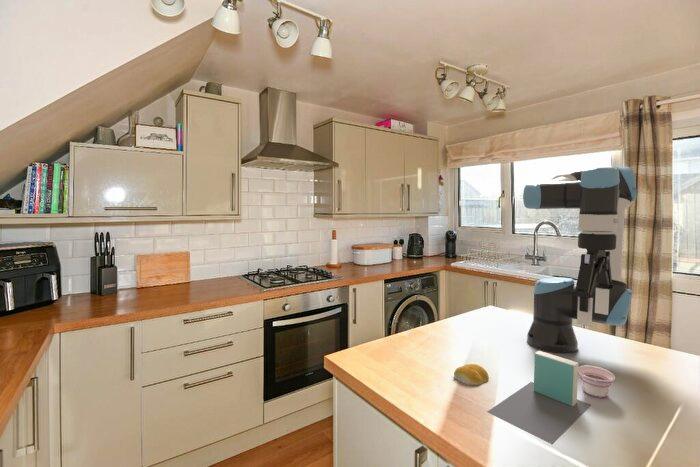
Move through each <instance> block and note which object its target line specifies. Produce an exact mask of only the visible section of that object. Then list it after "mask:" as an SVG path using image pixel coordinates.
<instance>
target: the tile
mask: <svg viewBox="0 0 700 467" xmlns="http://www.w3.org/2000/svg"><path fill="white" fill-rule="evenodd" d="M533 365H534V369H533V383H534V391H536V392H538V393H541V394H543V395H546V396H548V397H551V398H553V399H556V400H558V401H561V402H563V403H566V404H568V405H571V406H574V405H575V404H576V403H577V399H578V385H579V384H578V383H579V382H578V381H579V373H578V367H579V362H577V361H575V360H571V359H568V358H565V357H561V356H558V355H554V354H552V353H549V352H544V351H542V350H538V351H536V352H534V364H533Z"/></svg>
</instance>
